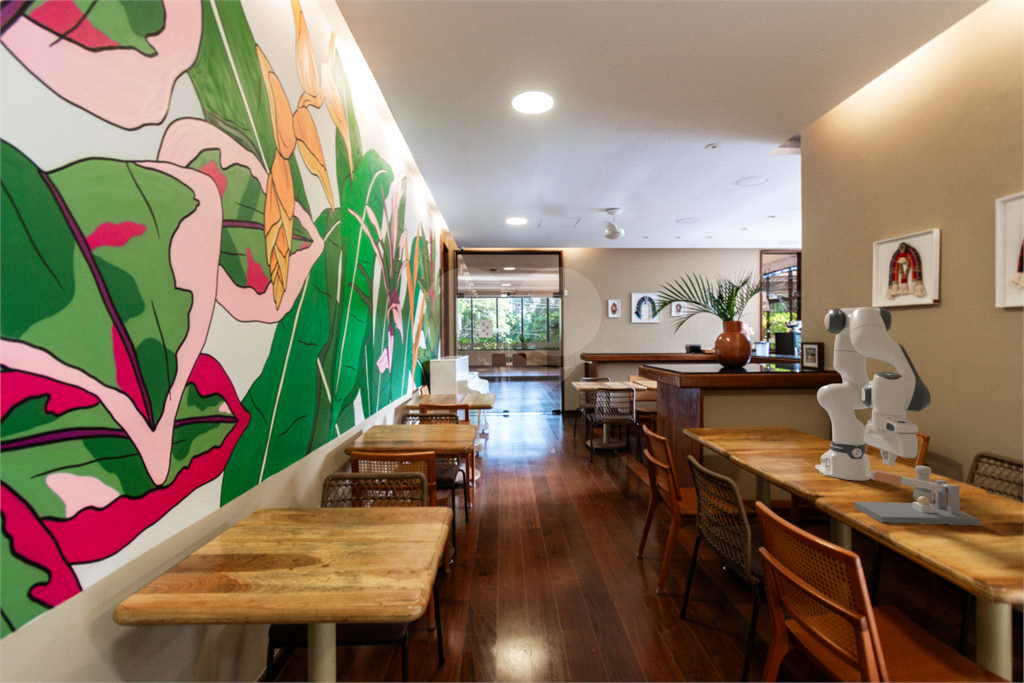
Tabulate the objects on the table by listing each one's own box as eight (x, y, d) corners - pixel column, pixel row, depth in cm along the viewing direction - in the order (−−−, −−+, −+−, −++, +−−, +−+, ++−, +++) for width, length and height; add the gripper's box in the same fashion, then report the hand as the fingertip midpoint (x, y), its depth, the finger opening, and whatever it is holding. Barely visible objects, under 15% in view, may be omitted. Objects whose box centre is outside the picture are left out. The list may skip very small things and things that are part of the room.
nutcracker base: (943, 509, 160) (943, 477, 160) (980, 525, 146) (979, 490, 146) (854, 507, 163) (854, 475, 163) (881, 523, 149) (881, 487, 149)
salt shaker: (926, 500, 168) (926, 464, 168) (939, 506, 163) (938, 468, 163) (908, 500, 169) (908, 464, 169) (920, 506, 163) (920, 468, 163)
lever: (946, 494, 155) (948, 483, 155) (955, 498, 151) (957, 487, 151) (863, 478, 157) (865, 467, 157) (870, 481, 154) (872, 470, 154)
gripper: (858, 417, 166) (858, 456, 166) (900, 428, 145) (900, 473, 145) (878, 417, 165) (878, 456, 165) (922, 428, 144) (922, 473, 145)
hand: (888, 464), depth 155 cm, fingers closed
